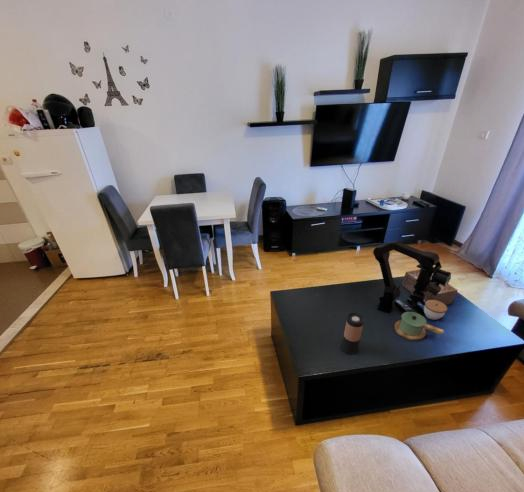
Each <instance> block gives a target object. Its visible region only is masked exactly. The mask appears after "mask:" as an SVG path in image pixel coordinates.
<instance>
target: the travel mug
mask: <svg viewBox="0 0 524 492" xmlns="http://www.w3.org/2000/svg"><path fill="white" fill-rule="evenodd" d="M364 323H365V317H364V315H362V314H360V313H357V312H350V313H348V315H347V317H346V322H345V328H344V332H343V337H342V343H341V349H342V351H343V352H344V353H347V354H350V355H352V354H353V355H354V354H355V353H356V352H357V351H358V347H359V344H360V340H361V337H362V333H363V327H364Z"/></svg>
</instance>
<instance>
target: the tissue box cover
mask: <svg viewBox="0 0 524 492" xmlns="http://www.w3.org/2000/svg"><path fill="white" fill-rule="evenodd" d="M420 269H421V268H418V269H414V270H407V271H405V273H404V276H403V280H402V283H401V285H402V287H404V288H405V289H406V290H408V292H410V293H411V292H412V291H414V290H415V288H414V286H415V283H416V280H417V277H418V275H419V272H420ZM432 275H433V274H432ZM430 282H432V283H433V281H432V277H431V281H430ZM439 286H441V291H440V292H439V293H438V294H437V295H436V296H434V295H433V294H432V293H430V292H429V291H428V290H427V292H425V291H423V293H424V294H425V298H424V300H425V301H428V300H436V301H440V302H442V303H444V304H445V305H446V306H448V305H452V304H453V301H454V299H455V297H456V294H457V292H458V289H457V288H456V287H454V286H452V285H451V284H449V283H448V284H447V285H446V286H443V285H441V284H440V285H439ZM424 300H423V303H424V304H425V301H424Z"/></svg>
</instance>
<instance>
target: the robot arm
mask: <svg viewBox="0 0 524 492" xmlns="http://www.w3.org/2000/svg"><path fill="white" fill-rule="evenodd" d="M392 251H395V252H397V253H400V254H402V255H404V256H407V257H409V258H412V259H414V260H415V261H417V263H418V264H417V265H416V268H418V269H420V272H419V275H418V277H417V280H416V283H415V286H414V288H415V290H414V291H412V292H410V295H409V299H410V302H411V306H412V308H416V307H417V305H418V303H419V302H421V303H422V302H423V300H424V298H425V294H424V293H423V291H425V292H427V290H428V291H429V292H430V293H432V294H433V295H434V296H436V295H437V294H438V293H439V292H440V291H441V286H439V285H440V284H441V285H443V286H446V285H447V284H449V283H450V282H451V279H452V272H450V271H446V270H444V269H442V268H443V266H442V264H441V262H440V256H439V254H438V253H436V252H432V251H428V250H427V251H426V250H420V249H418V248H415V247H413V246H410V245H409V244H405V243H403V242H401V241H400V240H394V241H392V242H389V243H387V244H385V243H381V244H380V245H378V246H377V247H376V246H375V248H373V250H372V253H373V256H374V259H375V260H376V261H377V262H378V264H379V269H380V272H381V276H382V280H383V285H384V290H383V294H382V295H381V296H380V297H379V298H378V300H379V305H378V307H377V310H378V311H381V312H385V313H387V314H389V313H390V312H391V311H392V310H393V306H394V301H396V300H397V299H398V298H399V297H400V296H401V293H402V291H401V290H400V286H397V285H395V281H394V278H393V274H392V273H393V272H392V268H391V265H390V260H389V259H390V255H391V252H392ZM432 274H433V275H432ZM431 277H432V281H433V283H432V282H430V281H431ZM423 303H424V302H423Z"/></svg>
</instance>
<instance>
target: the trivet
mask: <svg viewBox="0 0 524 492" xmlns="http://www.w3.org/2000/svg"><path fill="white" fill-rule="evenodd" d="M400 321H401V319H399V320H397V321H396V322H395V323H394V327H393V328H394V331H395V332H396V334H397V335H399V336H400V337H401V338H403V339H406V340H409V341H421V340H423V339H424V338H425V337H426V335H427V332H426V329H424V328H423V330H422V333H421V334H420V335H417V336H412V335H408V334H406V333H404V332H403V331H401V329H400V328H399V324H400Z"/></svg>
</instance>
